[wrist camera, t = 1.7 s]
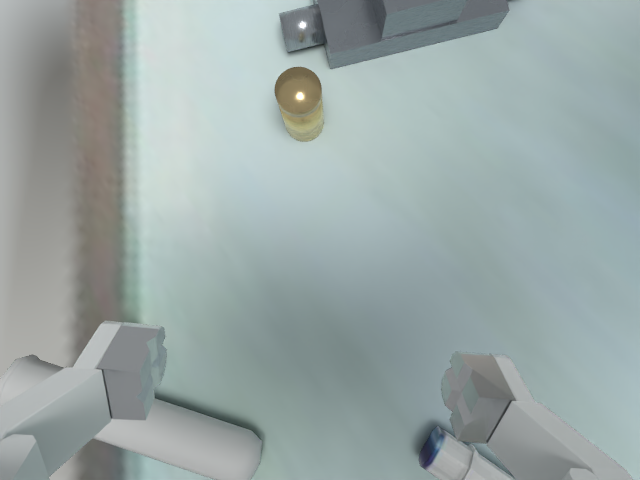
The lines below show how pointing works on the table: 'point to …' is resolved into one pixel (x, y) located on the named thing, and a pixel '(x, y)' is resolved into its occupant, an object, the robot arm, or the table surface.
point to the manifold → (385, 25)
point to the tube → (160, 430)
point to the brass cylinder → (300, 103)
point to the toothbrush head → (456, 459)
